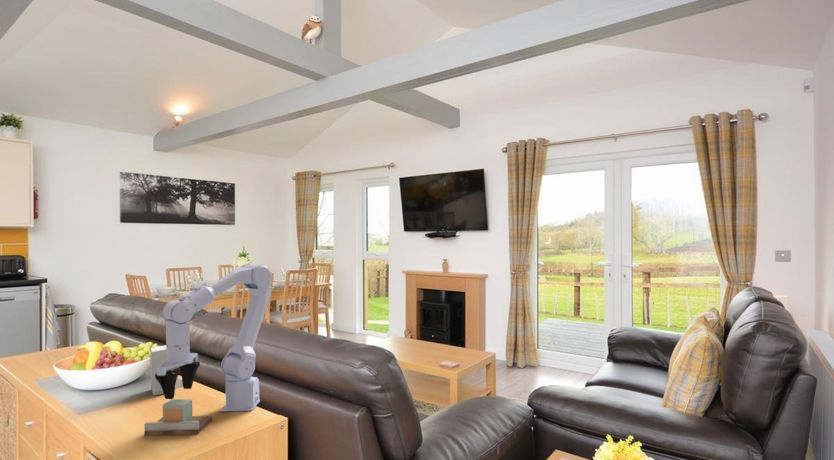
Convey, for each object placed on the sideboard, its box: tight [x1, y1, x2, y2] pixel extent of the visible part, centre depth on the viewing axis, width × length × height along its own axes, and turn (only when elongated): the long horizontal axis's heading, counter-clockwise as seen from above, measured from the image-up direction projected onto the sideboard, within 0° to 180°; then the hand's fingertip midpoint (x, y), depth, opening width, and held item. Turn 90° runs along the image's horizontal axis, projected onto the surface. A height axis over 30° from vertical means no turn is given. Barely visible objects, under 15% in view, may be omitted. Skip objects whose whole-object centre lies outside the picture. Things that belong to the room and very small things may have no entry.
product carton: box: [162, 398, 193, 422], centre depth 122 cm, size 4×6×6 cm
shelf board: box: [143, 415, 213, 437], centre depth 123 cm, size 14×9×1 cm, turn 92°
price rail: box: [143, 421, 199, 431], centre depth 118 cm, size 14×1×2 cm, turn 92°
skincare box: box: [149, 344, 167, 396], centre depth 152 cm, size 8×6×15 cm
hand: (178, 393), depth 123 cm, fingers open, 7 cm apart
